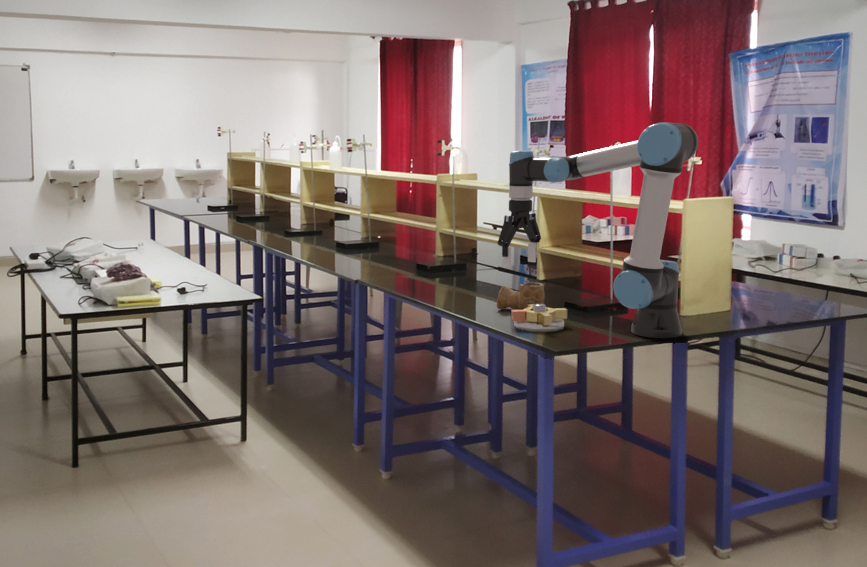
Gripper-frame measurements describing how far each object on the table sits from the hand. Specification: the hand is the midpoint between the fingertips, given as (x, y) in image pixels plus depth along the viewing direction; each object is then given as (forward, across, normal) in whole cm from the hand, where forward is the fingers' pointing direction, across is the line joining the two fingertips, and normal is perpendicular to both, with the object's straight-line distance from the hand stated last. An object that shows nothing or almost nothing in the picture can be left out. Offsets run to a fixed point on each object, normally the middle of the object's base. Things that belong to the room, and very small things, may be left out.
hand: (519, 264), depth 277 cm
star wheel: (+17, +1, +9) cm, 19 cm away
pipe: (+19, -14, -10) cm, 26 cm away
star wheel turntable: (+19, +1, +9) cm, 21 cm away
